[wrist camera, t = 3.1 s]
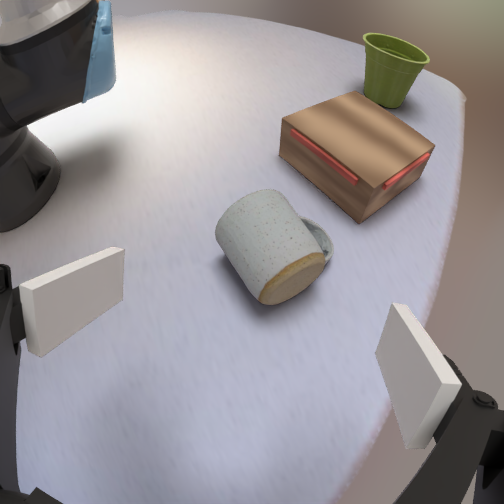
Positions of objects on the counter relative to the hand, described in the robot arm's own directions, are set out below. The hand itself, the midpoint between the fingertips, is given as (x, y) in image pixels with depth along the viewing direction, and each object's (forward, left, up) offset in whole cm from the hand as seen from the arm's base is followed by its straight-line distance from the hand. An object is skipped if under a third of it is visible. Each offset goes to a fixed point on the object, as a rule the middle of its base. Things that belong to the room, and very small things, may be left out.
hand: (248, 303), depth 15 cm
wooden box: (+26, +12, -14) cm, 32 cm away
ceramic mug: (+9, +7, -15) cm, 18 cm away
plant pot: (+46, +21, -15) cm, 53 cm away
